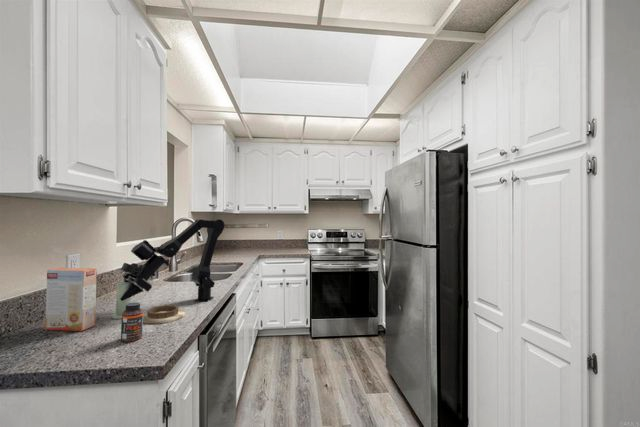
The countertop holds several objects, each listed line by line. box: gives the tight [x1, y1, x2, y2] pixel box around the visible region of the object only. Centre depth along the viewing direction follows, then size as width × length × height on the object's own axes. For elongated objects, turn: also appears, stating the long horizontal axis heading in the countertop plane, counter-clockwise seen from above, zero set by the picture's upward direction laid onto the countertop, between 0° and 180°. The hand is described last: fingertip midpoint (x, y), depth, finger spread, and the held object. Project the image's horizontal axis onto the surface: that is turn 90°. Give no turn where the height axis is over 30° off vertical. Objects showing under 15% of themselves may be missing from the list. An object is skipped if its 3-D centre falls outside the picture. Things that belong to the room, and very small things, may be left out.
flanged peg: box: [111, 281, 131, 320], centre depth 117 cm, size 7×7×13 cm
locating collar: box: [143, 304, 186, 325], centre depth 117 cm, size 16×16×3 cm
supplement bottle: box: [120, 301, 144, 343], centre depth 95 cm, size 6×6×11 cm
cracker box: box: [44, 267, 98, 332], centre depth 104 cm, size 14×6×21 cm, turn 84°
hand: (119, 298), depth 116 cm, fingers closed on flanged peg, 5 cm apart
